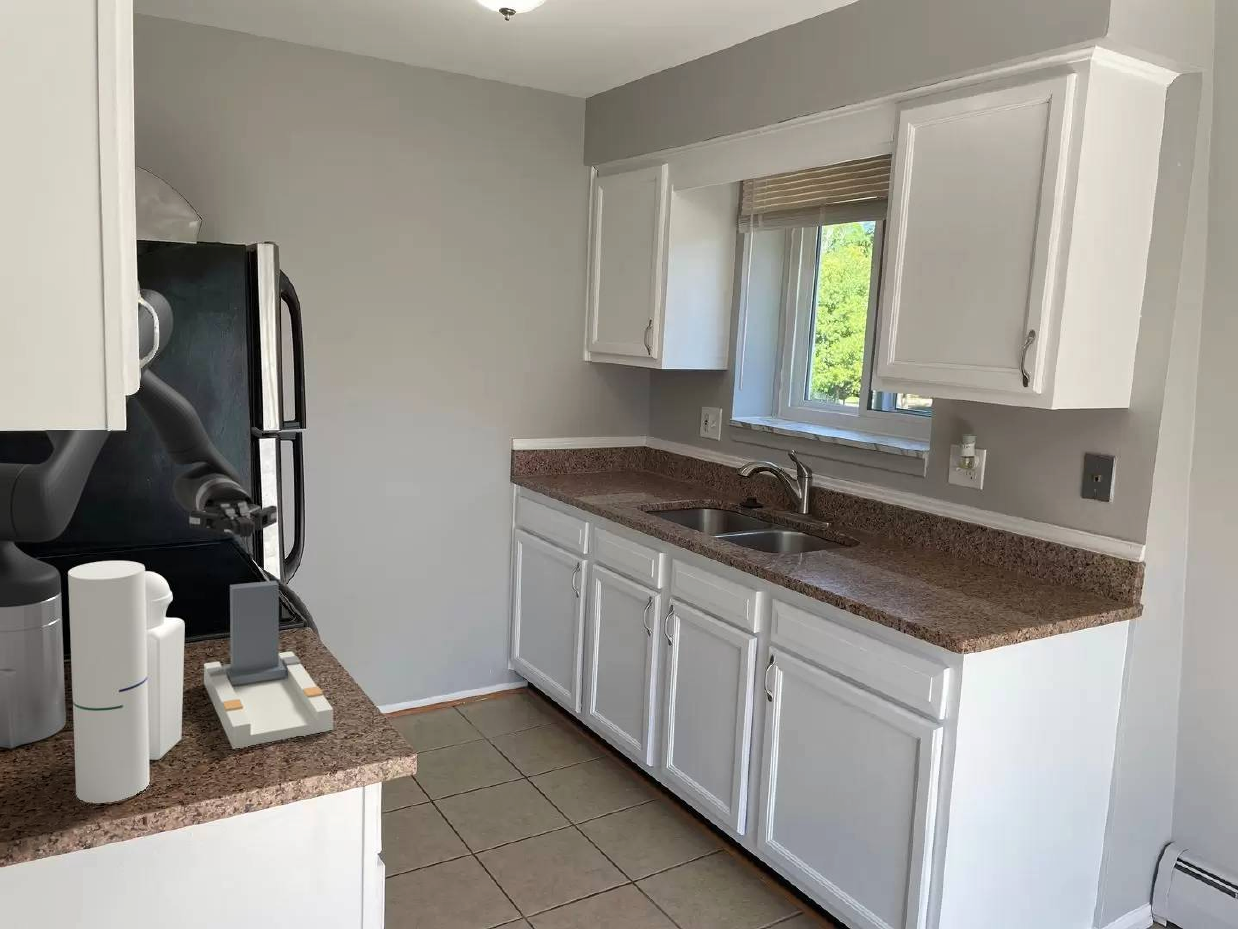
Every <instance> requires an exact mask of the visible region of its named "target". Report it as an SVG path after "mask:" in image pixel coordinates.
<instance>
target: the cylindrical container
mask: <svg viewBox="0 0 1238 929" xmlns="http://www.w3.org/2000/svg"><path fill="white" fill-rule="evenodd" d="M145 571H146V567H145V565H144V564H143V563H140V562H136V561H130V560H102V561H95V562H89V563H84V564H80V565H77V566H75V567H72V568H71V569H69V570H68V572H67V575H68V576H67V580H68V598H69V599H68V606H69V607H68V609H69V610H68V611H69V629H70V630H69V631H70V661H71V663H70V664H71V688H72V689H71V690H72V691H71V692H72V714H73V740H74V769H75V770H74V771H75V772H74V773H75V776H74V777H75V796H76V795H77V797H78V798H79V799H80V800H83V801H85V802H90V803H91V802H92V803H105V802H114V801H119V800H122V799H125V798H128V797H131V796H134V795H136V794H137V793H139V792H140V791H143V790H144V789H146V787H147V786H148V785H149V786H150V784H149V782H150V759H149V730H148V688H147V642H146V597H145ZM146 790H147V789H146ZM77 797H76V798H77Z"/></svg>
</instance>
